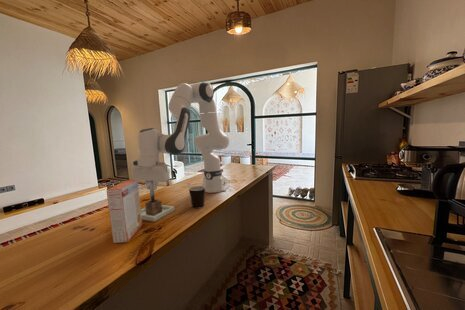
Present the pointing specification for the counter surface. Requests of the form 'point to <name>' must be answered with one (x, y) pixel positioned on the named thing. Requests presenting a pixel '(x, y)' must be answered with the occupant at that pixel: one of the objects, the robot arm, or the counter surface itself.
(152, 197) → the rod
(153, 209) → the walnut block
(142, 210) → the sage dish
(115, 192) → the cracker box
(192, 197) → the coffee mug
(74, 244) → the counter surface
